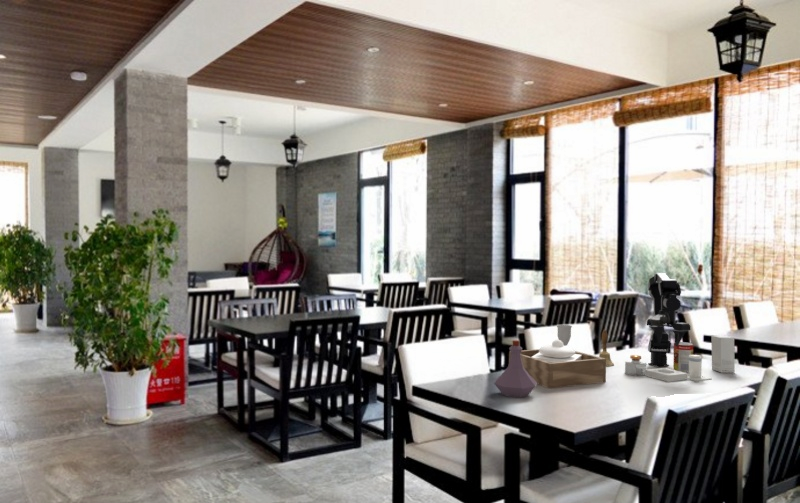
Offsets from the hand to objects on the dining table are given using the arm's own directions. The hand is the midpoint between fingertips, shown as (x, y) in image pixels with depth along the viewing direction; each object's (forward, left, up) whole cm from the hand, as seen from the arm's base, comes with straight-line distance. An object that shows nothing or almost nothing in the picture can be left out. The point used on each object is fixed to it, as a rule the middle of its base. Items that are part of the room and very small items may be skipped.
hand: (667, 344), depth 264 cm
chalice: (-34, -28, -13) cm, 46 cm away
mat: (+9, +6, -13) cm, 17 cm away
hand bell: (-27, -10, -13) cm, 32 cm away
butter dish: (-13, -49, -13) cm, 52 cm away
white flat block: (+4, -5, -13) cm, 14 cm away
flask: (+4, -81, -13) cm, 82 cm away
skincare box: (+4, +29, -13) cm, 32 cm away
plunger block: (-6, -12, -13) cm, 19 cm away
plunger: (-6, -12, -12) cm, 18 cm away
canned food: (-4, +14, -13) cm, 20 cm away
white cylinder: (+9, +6, -13) cm, 17 cm away
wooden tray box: (-13, -49, -13) cm, 52 cm away
